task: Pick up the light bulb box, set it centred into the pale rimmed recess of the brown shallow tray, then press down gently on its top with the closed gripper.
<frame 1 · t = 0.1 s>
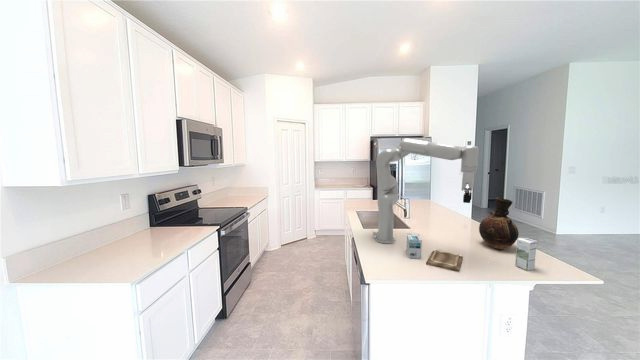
hand: (467, 201, 133), 31 cm above the countertop, tool pointing down, fingers open, 9 cm apart
brown shallow tray: (444, 261, 131), on the countertop
syrup box: (524, 267, 123), on the countertop
ceramic vessel: (496, 247, 150), on the countertop
light bulb box: (413, 255, 140), on the countertop
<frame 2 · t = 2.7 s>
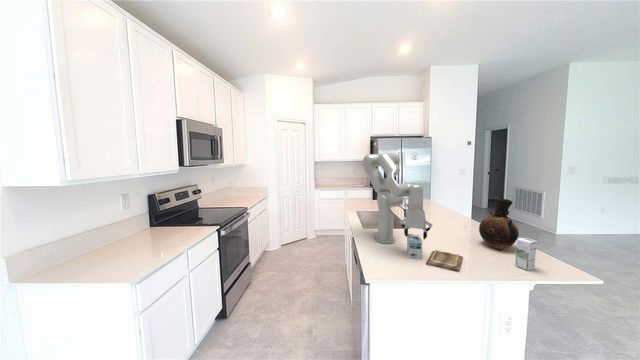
hand: (415, 237, 138), 10 cm above the countertop, tool pointing down, fingers open, 9 cm apart
light bulb box: (413, 255, 140), on the countertop, touching gripper
everything else where it was.
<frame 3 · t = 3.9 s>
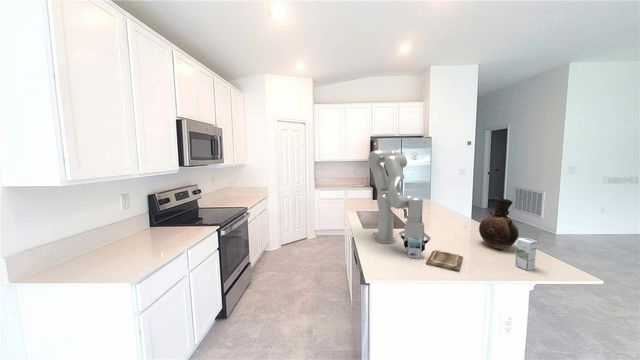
hand: (414, 249, 139), 3 cm above the countertop, tool pointing down, fingers closed on light bulb box, 8 cm apart
light bulb box: (413, 255, 140), on the countertop, touching gripper
everything else where it was.
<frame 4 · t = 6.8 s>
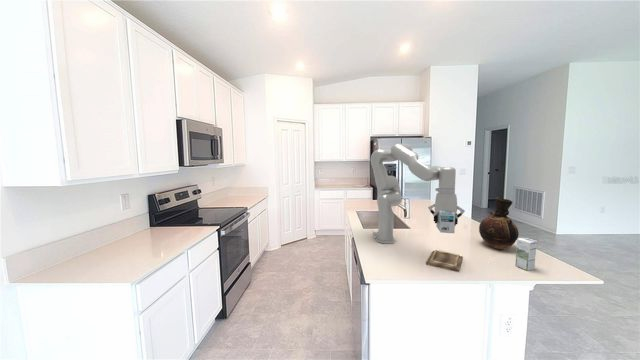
hand: (445, 224, 129), 20 cm above the countertop, tool pointing down, fingers closed on light bulb box, 8 cm apart
light bulb box: (444, 230, 129), point 17 cm above the countertop, touching gripper
everything else where it was.
when the fingers open (6 cm above the countertop, at t = 10.2 s): light bulb box drops 1 cm, resting on brown shallow tray.
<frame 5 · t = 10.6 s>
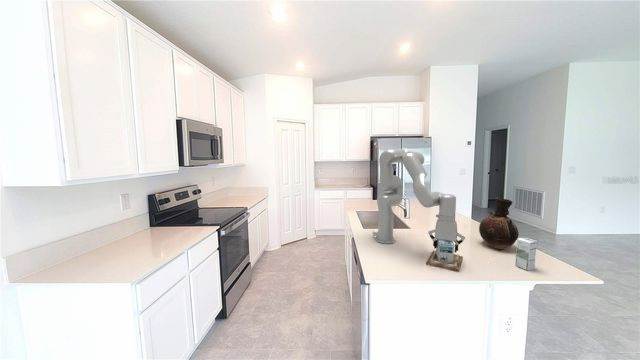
hand: (445, 249, 130), 7 cm above the countertop, tool pointing down, fingers open, 9 cm apart
light bulb box: (443, 258, 131), point 2 cm above the countertop, touching brown shallow tray
everything else where it was.
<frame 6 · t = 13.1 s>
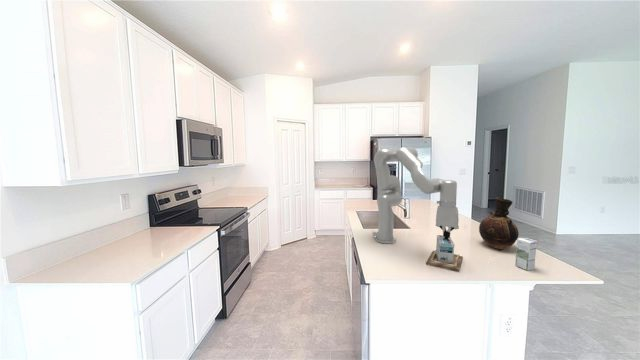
hand: (446, 238, 129), 13 cm above the countertop, tool pointing down, fingers closed
light bulb box: (443, 258, 131), point 2 cm above the countertop, touching gripper, brown shallow tray
everything else where it was.
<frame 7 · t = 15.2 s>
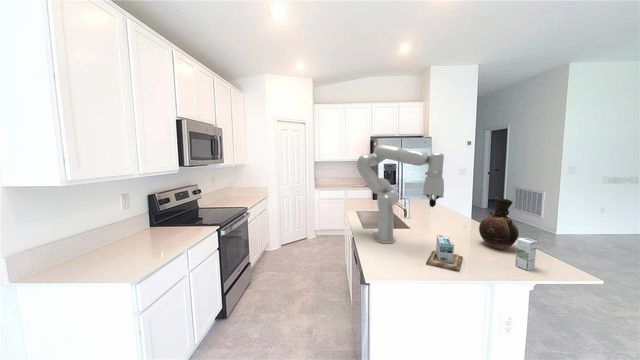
hand: (432, 206, 142), 26 cm above the countertop, tool pointing down, fingers closed
light bulb box: (443, 258, 131), point 2 cm above the countertop, touching brown shallow tray
everything else where it was.
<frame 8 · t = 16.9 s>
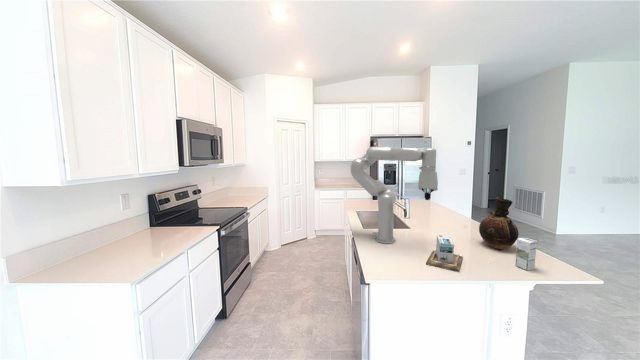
hand: (427, 199, 149), 29 cm above the countertop, tool pointing down, fingers closed
nothing on the countertop moved.
at the end: light bulb box 0.5 cm off-centre on the brown shallow tray, point 1.5 cm above the brown shallow tray's base; light bulb box tilted 6°; the gripper is holding nothing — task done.
